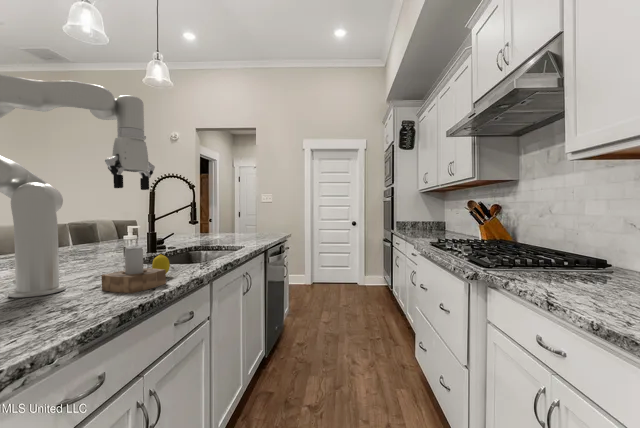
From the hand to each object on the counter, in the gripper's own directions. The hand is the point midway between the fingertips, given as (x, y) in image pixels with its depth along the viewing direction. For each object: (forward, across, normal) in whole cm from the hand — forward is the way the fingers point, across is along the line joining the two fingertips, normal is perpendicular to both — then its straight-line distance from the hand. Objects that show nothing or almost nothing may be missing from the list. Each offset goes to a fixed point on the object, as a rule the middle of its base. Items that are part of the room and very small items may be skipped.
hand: (132, 188), depth 105 cm
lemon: (+31, -9, +2) cm, 32 cm away
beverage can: (+31, +5, +6) cm, 32 cm away
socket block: (+30, +5, +6) cm, 31 cm away
